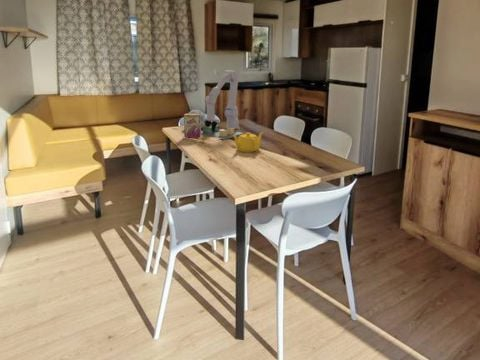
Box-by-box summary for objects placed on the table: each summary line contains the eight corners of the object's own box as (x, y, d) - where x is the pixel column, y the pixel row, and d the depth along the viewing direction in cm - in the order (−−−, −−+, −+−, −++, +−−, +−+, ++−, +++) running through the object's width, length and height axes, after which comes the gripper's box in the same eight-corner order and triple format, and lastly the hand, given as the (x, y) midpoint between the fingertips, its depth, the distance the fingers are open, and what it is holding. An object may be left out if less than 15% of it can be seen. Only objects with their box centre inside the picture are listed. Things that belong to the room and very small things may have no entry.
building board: (216, 129, 298) (216, 123, 297) (243, 134, 283) (243, 127, 282) (194, 135, 280) (194, 128, 279) (222, 140, 265) (222, 133, 264)
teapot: (239, 155, 229) (239, 137, 226) (227, 149, 242) (227, 132, 239) (270, 151, 239) (271, 133, 235) (258, 145, 252) (258, 129, 248)
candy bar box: (184, 138, 272) (183, 114, 266) (186, 136, 276) (184, 113, 271) (200, 138, 271) (199, 115, 265) (201, 137, 275) (200, 113, 270)
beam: (215, 130, 292) (215, 124, 291) (219, 130, 290) (219, 125, 289) (202, 133, 282) (202, 127, 281) (206, 134, 280) (206, 128, 278)
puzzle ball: (187, 131, 292) (186, 111, 287) (185, 127, 306) (184, 108, 301) (207, 130, 295) (206, 111, 290) (204, 126, 309) (204, 107, 304)
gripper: (199, 112, 283) (200, 130, 287) (214, 114, 274) (215, 133, 279) (206, 111, 288) (206, 129, 292) (221, 113, 280) (221, 131, 284)
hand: (211, 131), depth 286 cm, fingers closed on beam, 4 cm apart
